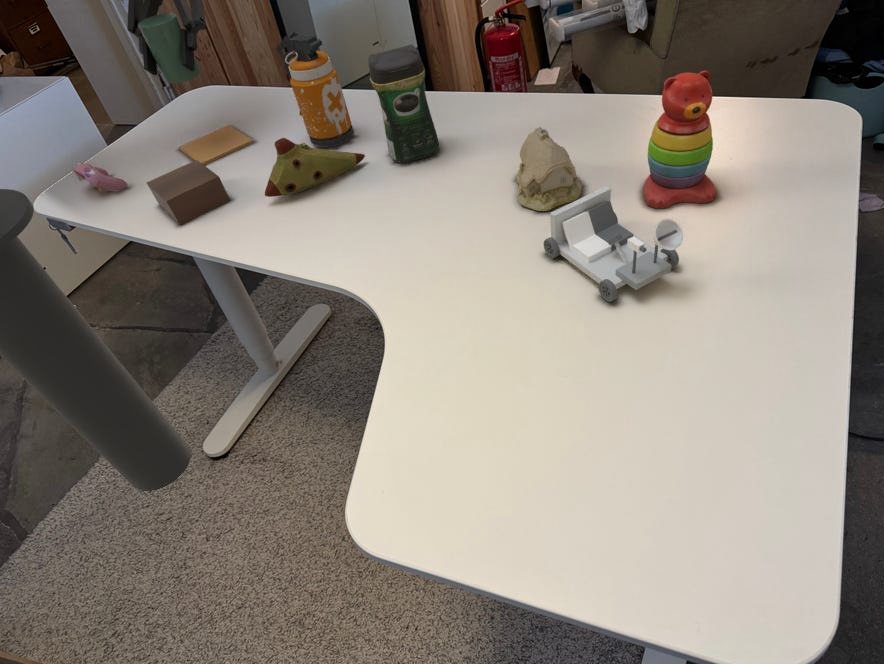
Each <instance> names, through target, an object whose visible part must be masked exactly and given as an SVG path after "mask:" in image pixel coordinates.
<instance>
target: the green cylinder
mask: <svg viewBox="0 0 884 664" xmlns="http://www.w3.org/2000/svg"><path fill="white" fill-rule="evenodd" d="M138 27H139V29H140V31H141V33H142V35H143V37H144V39H145V41H146V43H147V45H148V47H149V49H150V51H151V53H152V55H153V57H154V59H155V61H156V63H157V68H158V69H159V70H160V73H161V75H162V78H163V79H164V82H166V83H168V84H177V83H183V82H187V81H190V80H192V79H194V78H196V77H198V76H199V75H200V74H201V73H202V69H201V67H200V64H199V62H198V60H197V58H196V56H195V54H194V64H195V71H191V70H189V69H188V68H186V67H185V66H184V65H182V49H181V33H180V29H183V25H182V23H181V22H180V20H179V17H178V16H177V13H175V12H163V13H159V14H157V15H155V16H151V17H149V18H146V19H144V20H142V21H141V22H139V23H138Z"/></svg>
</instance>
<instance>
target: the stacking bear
mask: <svg viewBox="0 0 884 664" xmlns="http://www.w3.org/2000/svg"><path fill="white" fill-rule="evenodd" d="M710 80H711V73H710V72H709V71H708V70H701V71H700V72H699V73H696V72H687V71H686V72H681V73H679V74H677V75H675V76H671V77H668V78H667V79H665V81H664V82H663V90H662V94H661V104H662V108H663V112H662V113H661V115H660V116H659V118H658V119H657V120H656V122H655V123H654V124H653V128H652V131H651V134H650V135H651V136H650V137H649V141H648V147H647V163H648V167H649V174H648V176H647V178H646V179H645V182H644V185H643V189H642V190H643V191H642V196H643V199H644V202H645V204H646V205H647V206H649V207H652V208H655V209H664V208H668V207H671V206H672V205H674V204H677V203H684V202H685V203H686V202H689V203H695V204H705V203H711V202H713V200H715V199H716V197H717V188H716V186H715V184H714V183H713V181H712V179H710V177H708V175H707V174H706V172H707V169H708V166H709V164H710V161H711V158H712V155H713V154H712V153H713V150H714V149H713V147H714V139H713V129H712V124H711V119H710V115H709V114H708V113H707V112H708V111H709V110H710V107H711V105H712V101H713V89H712V86H711V84H710Z"/></svg>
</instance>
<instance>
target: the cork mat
mask: <svg viewBox="0 0 884 664" xmlns="http://www.w3.org/2000/svg"><path fill="white" fill-rule="evenodd" d="M253 143H254V140H253V139H252V138H250V137H249V136H248V135H246V134H244V133H242V132H241V131H240V130H238V129H236V128H235V127H233V126H231V125H230V124H227V125H224V126H223V127H220V128H218V129H215V130H213V131H211V132H209V133H207V134H204V135H202V136H200V137H197V138H195V139H193V140H191V141H188V142H185V143H183V144H182V145H179V146H178V147H177V148H178V150H179V151H181V152H182V153H183V154H185V155H186V156H187V157H189V158H190V160H191V159H192V160H193V161H195V160H198V161H199V162H200V163H202V164H203V165H204V166H206V165H208V164H210V163H212V162H214V161H217V160H218V159H220V158H223V157H225V156H227V155H229V154H232V153H234V152H236V151H238V150H240V149H242V148H245V147H247V146H249V145H252V144H253Z"/></svg>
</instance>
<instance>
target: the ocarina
mask: <svg viewBox="0 0 884 664" xmlns="http://www.w3.org/2000/svg"><path fill="white" fill-rule="evenodd" d="M274 147H275V150H276V155H277V156H276V161H275V163H274V164H273V166H272V169H271V172H270V174H269V178H268V180H267V184H266V187H265V191H264V196H265V197H269V198H274V197H275V198H276V197H282V196H288V195H293V194H296V193H300V192H302V191H305V190H307V189H311V188H313V187H317V186H318V185H320V184H322V183H325V182H327V181H329V180H331V179H334V178H336V177H338V176H340V175H342V174H344V173H345V172H347V171H349V170H351V169H353V168H354V167H356V166H357V165H358V164H360V163H361V162H362V161H363V160H364V159H365V157H366V155H365V154H364V153H359V152H350V151H342V150H341V151H340V150H333V149H324V148H316V147H311V146H310V145H308V144H307V143H306V142H301V143H295V142H293V141H291V140H290V139H288V138H286V137H281V138H279V139H277V140H276V141H275V142H274Z"/></svg>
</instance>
